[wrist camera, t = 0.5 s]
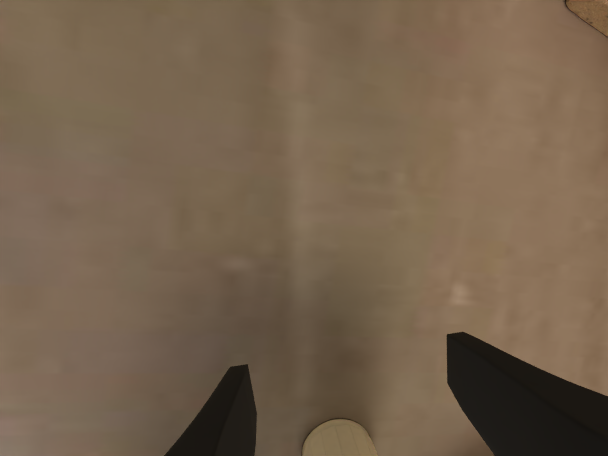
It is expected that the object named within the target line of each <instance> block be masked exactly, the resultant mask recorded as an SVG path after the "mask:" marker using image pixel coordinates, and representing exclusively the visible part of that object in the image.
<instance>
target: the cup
mask: <svg viewBox="0 0 608 456" xmlns="http://www.w3.org/2000/svg"><path fill="white" fill-rule="evenodd" d="M302 456H378V455H377V452H376V450H375V447H374V445H373V442H372V440H371V438H370V436H369V434H368V432H367V431H366V430H365V429H364V428H363V427H362V426H361V425H359V424H358V423H356V422H354V421H351V420H346V419H335V420H330V421H327V422H325V423H323V424H321V425H319V426H318V427H316V428H315V429H314V430H313V431H312V432H311V433H310V434H309V436H308V437H307V439H306V441H305V443H304V445H303V449H302Z"/></svg>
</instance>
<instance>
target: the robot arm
mask: <svg viewBox="0 0 608 456" xmlns="http://www.w3.org/2000/svg"><path fill="white" fill-rule="evenodd" d="M447 383H448V385H449V387H450V389H451V390H452V392H453V394H454V396H455V398H456V400H457V401H458V403H459V405H460V407H461V408H462V410H463V412H464V413H465V415H466V416H467V417H468V419H469V420H470V422H471V423H472V424H473V426H474V427H475V429H476V430H477V431H478V433H479V434H480V436H481V437H482V438H483V440H484V441H485V443H486V444H487V445H488V447H489V448H490V450H491V451H492V452H493V454H494V455H495V456H608V396H605V395H603V394H600V393H597V392H595V391H592V390H589V389H587V388H584V387H581V386H579V385H576V384H574V383H571V382H569V381H566V380H564V379H562V378H559V377H557V376H555V375H552V374H550V373H548V372H546V371H543V370H541V369H539V368H537V367H535V366H532V365H530V364H528V363H526V362H524V361H522V360H520V359H518V358H516V357H514V356H512V355H510V354H508V353H506V352H504V351H502V350H500V349H498V348H496V347H494V346H492V345H490V344H488V343H486V342H484V341H482V340H480V339H478V338H476V337H474V336H471V335H469V334H467V333H465V332H459V333H452V334H447ZM256 419H257V412H256V407H255V401H254V396H253V390H252V385H251V380H250V374H249V369H248V364H246V365H240V366H233V367H230V368H229V369H228V371H227V372H226V374H225V375H224V377H223V378H222V380H221V381H220V383H219V384H218V386H217V387H216V389H215V390H214V392H213V393H212V395H211V396H210V398H209V399H208V401H207V402H206V403H205V405H204V406H203V408H202V409H201V410H200V412H199V413H198V415H197V416H196V417H195V419H194V420H193V421H192V422H191V424H190V425H189V426H188V428H187V429H186V430H185V431H184V433H183V434H182V435H181V437H180V438H179V439H178V440H177V441H176V443H175V444H174V445H173V446H172V447H171V448H170V450H169V451H168V452H167V453H166V454H165V455H164V456H254V453H255V446H256Z"/></svg>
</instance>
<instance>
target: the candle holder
mask: <svg viewBox="0 0 608 456" xmlns="http://www.w3.org/2000/svg"><path fill="white" fill-rule="evenodd" d="M566 5H567V6H568V8H569V9H570V10H571V11H573V12H574V13H575V14H577V15H578V16H579V17H580V18H582V19H583V20H584V21H586V22H587V23H589V24H590V25H591V26H593V27H594V28H596V29H597V30H599V31H600V32H602V33H603V34H604V35H606V36H607V37H608V0H566Z"/></svg>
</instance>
